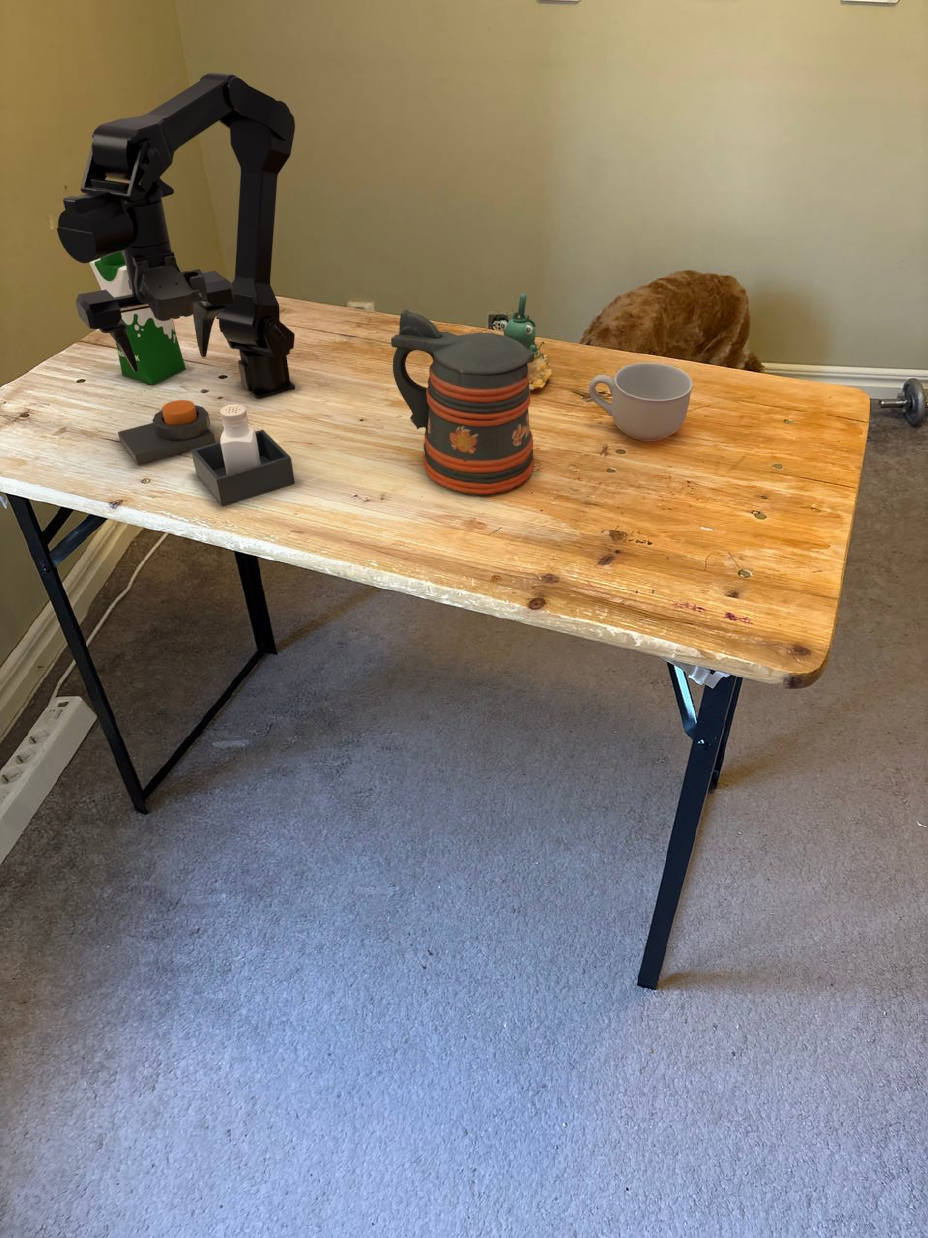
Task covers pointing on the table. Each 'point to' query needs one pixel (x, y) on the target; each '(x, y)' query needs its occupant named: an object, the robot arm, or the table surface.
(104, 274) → the milk carton
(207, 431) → the button base
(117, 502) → the table surface
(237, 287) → the robot arm
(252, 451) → the pepper shaker
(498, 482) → the beer stein
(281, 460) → the dark grey open box
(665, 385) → the teacup
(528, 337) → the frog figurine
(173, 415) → the button
